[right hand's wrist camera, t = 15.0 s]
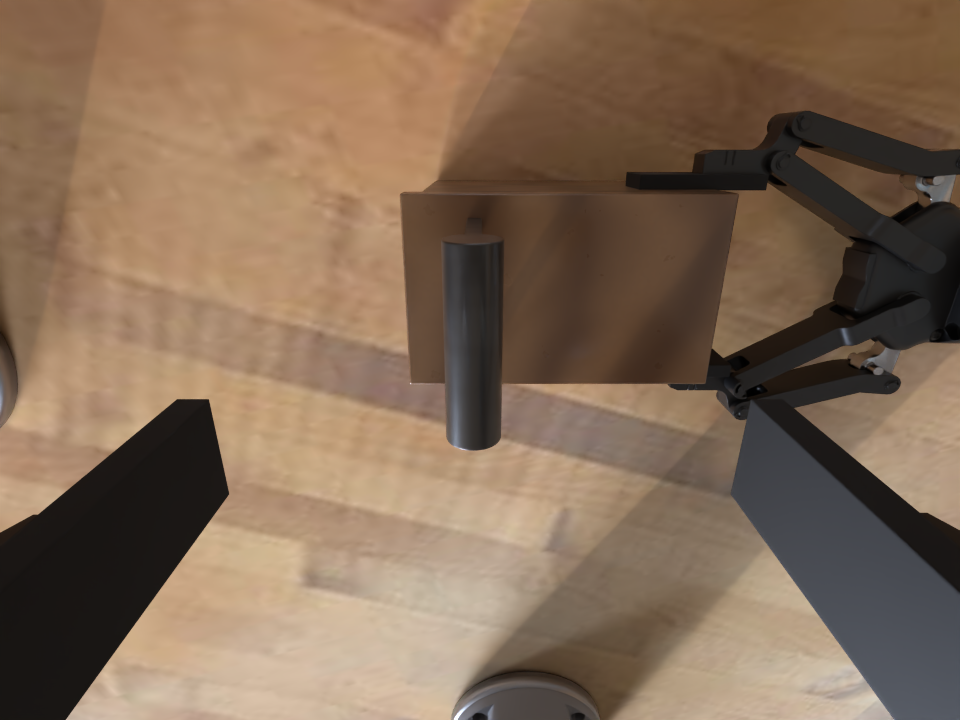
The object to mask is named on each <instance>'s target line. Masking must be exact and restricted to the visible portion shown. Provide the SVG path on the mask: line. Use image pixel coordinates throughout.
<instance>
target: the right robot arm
mask: <svg viewBox="0 0 960 720" xmlns="http://www.w3.org/2000/svg"><path fill="white" fill-rule="evenodd" d="M17 388H18V382H17V373H16V368H15V364H14V360H13V357H12V355H11V352H10V350H9V347H8V345H7V343H6V341H5V339H4V337H3V336H2V334H1V333H0V428H1V427H2V426H3V425H4V423H5V422H6V421H7V419H8V418H9V416H10V415H11V413H12V411H13V408H14V405H15V402H16V397H17ZM228 495H229V491H228V486H227V482H226V477H225V472H224V468H223V463H222V458H221V454H220V449H219V444H218V440H217V435H216V431H215V426H214V421H213V417H212V412H211V407H210V403H209V399H177V400H176V401H175V402H173V403H172V404H171V405H170V406H169V407H167V408H166V409H165V410H164V411H163V412H161V413H160V414H159V415H158V416H156V417H155V418H154V419H153V420H152V421H150V422H149V423H148V424H147V425H146V426H144V427H143V428H142V429H141V430H140V431H138V432H137V433H136V434H135V435H134V436H132V437H131V438H130V439H129V440H128V441H126V442H125V443H124V444H123V445H122V446H120V447H119V448H118V449H117V450H115V451H114V452H113V453H112V454H111V455H109V456H108V457H107V458H106V459H105V460H103V461H102V462H101V463H100V464H99V465H97V466H96V467H95V468H94V469H93V470H91V471H90V472H89V473H88V474H87V475H85V476H84V477H83V478H82V479H81V480H79V481H78V482H77V483H76V484H75V485H73V486H72V487H71V488H70V489H68V490H67V491H66V492H65V493H64V494H62V495H61V496H60V497H59V498H58V499H56V500H55V501H54V502H53V503H52V504H50V505H49V506H48V507H47V508H46V509H44V510H43V511H42V512H41V513H40V514H38V515H32V516H30V517H28V518H26V519H25V520H23V521H21V522H19V523H17V524H15V525H14V526H12V527H10V528H8V529H6V530H4V531H3V532H1V533H0V720H66V719H67V717H68V716H69V714H70V713H71V712H72V710H73V709H74V707H75V706H76V705H77V703H78V702H79V701H80V699H81V698H82V696H83V695H84V694H85V692H86V691H87V690H88V688H89V687H90V685H91V684H92V683H93V681H94V680H95V679H96V677H97V676H98V674H99V673H100V672H101V670H102V669H103V667H104V666H105V665H106V663H107V662H108V661H109V659H110V658H111V656H112V655H113V654H114V652H115V651H116V650H117V648H118V647H119V645H120V644H121V643H122V641H123V640H124V639H125V637H126V636H127V634H128V633H129V632H130V630H131V629H132V627H133V626H134V625H135V623H136V622H137V621H138V619H139V618H140V616H141V615H142V614H143V612H144V611H145V610H146V608H147V607H148V605H149V604H150V603H151V601H152V600H153V599H154V597H155V596H156V594H157V593H158V592H159V590H160V589H161V587H162V586H163V585H164V583H165V582H166V581H167V579H168V578H169V576H170V575H171V574H172V572H173V571H174V570H175V568H176V567H177V565H178V564H179V563H180V561H181V560H182V559H183V557H184V556H185V554H186V553H187V552H188V550H189V549H190V547H191V546H192V545H193V543H194V542H195V541H196V539H197V538H198V536H199V535H200V534H201V532H202V531H203V530H204V528H205V527H206V525H207V524H208V523H209V521H210V520H211V519H212V517H213V516H214V514H215V513H216V512H217V510H218V509H219V507H220V506H221V505H222V503H223V502H224V501H225V499H226V498H227V496H228ZM731 495H732V496H733V498H734V499H735V501H736V502H737V503H738V505H739V506H740V507H741V509H742V510H743V512H744V513H745V514H746V516H747V517H748V519H749V520H750V521H751V523H752V524H753V525H754V527H755V528H756V530H757V531H758V532H759V534H760V535H761V536H762V538H763V539H764V541H765V542H766V543H767V545H768V546H769V547H770V549H771V550H772V552H773V553H774V554H775V556H776V557H777V559H778V560H779V561H780V563H781V564H782V565H783V567H784V568H785V570H786V571H787V572H788V574H789V575H790V576H791V578H792V579H793V581H794V582H795V583H796V585H797V586H798V587H799V589H800V590H801V592H802V593H803V594H804V596H805V597H806V599H807V600H808V601H809V603H810V604H811V605H812V607H813V608H814V610H815V611H816V612H817V614H818V615H819V616H820V618H821V619H822V621H823V622H824V623H825V625H826V626H827V627H828V629H829V630H830V632H831V633H832V634H833V636H834V637H835V639H836V640H837V641H838V643H839V644H840V645H841V647H842V648H843V650H844V651H845V652H846V654H847V655H848V656H849V658H850V659H851V661H852V662H853V663H854V665H855V666H856V667H857V669H858V670H859V672H860V673H861V674H862V676H863V677H864V679H865V680H866V681H867V683H868V684H869V685H870V687H871V688H872V690H873V691H874V692H875V694H876V695H877V696H878V698H879V699H880V701H881V702H882V703H883V705H884V706H885V707H886V709H887V710H888V712H889V713H890V714H891V716H892V717H893V719H894V720H960V530H958V529H956V528H954V527H952V526H951V525H949V524H947V523H945V522H943V521H941V520H939V519H938V518H936V517H934V516H932V515H930V514H928V513H919V512H918V511H917V510H916V509H914V508H913V507H912V506H911V505H910V504H908V503H907V502H906V501H905V500H904V499H902V498H901V497H900V496H899V495H898V494H896V493H895V492H894V491H893V490H892V489H890V488H889V487H888V486H887V485H885V484H884V483H883V482H882V481H881V480H879V479H878V478H877V477H876V476H875V475H873V474H872V473H871V472H870V471H869V470H867V469H866V468H865V467H864V466H863V465H861V464H860V463H859V462H858V461H857V460H855V459H854V458H853V457H852V456H851V455H849V454H848V453H847V452H846V451H845V450H843V449H842V448H841V447H840V446H838V445H837V444H836V443H835V442H834V441H832V440H831V439H830V438H829V437H828V436H826V435H825V434H824V433H823V432H822V431H820V430H819V429H818V428H817V427H816V426H814V425H813V424H812V423H811V422H810V421H808V420H807V419H806V418H805V417H804V416H802V415H801V414H800V413H799V412H797V411H796V410H795V409H794V408H793V407H791V406H790V405H789V404H788V403H787V402H785V401H784V400H783V399H751V403H750V407H749V412H748V417H747V421H746V426H745V431H744V435H743V440H742V444H741V449H740V454H739V458H738V463H737V468H736V472H735V477H734V482H733V486H732V491H731Z"/></svg>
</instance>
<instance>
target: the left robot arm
mask: <svg viewBox="0 0 960 720" xmlns="http://www.w3.org/2000/svg"><path fill="white" fill-rule="evenodd" d="M767 132H768V133H767V135H766V137H765V139H764V140H763V142H762V143H761V144H760V145H759V146H758V147H756V148H754V149H752V150H703V151H701V152H698V153H696V154H695V157H694V164H693V171H692V172H627V176H626V186H627V187H631V188H635V189H639V190H766V187H767V182H768V183H769V184H771V185H772V186H774V187H775V188H777V189H778V190H780V191H781V192H783V193H784V194H786V195H787V196H789V197H790V198H792V199H793V200H795V201H796V202H798V203H799V204H800V205H802V206H803V207H805V208H806V209H808V210H809V211H811V212H812V213H814V214H815V215H817V216H818V217H820V218H821V219H823V220H824V221H826V222H827V223H829V224H830V225H832V226H833V227H834V229H835V230H836V231H837V232H839V233H840V234H842V235H843V236H845V237H846V238H848V239H849V240H851V241H852V242H854V243H853V245H852V246H851V247H846V250H845V254H844V258H843V274H842V276H841V278H840V280H839V282H838V284H837V286H836V288H835V292H834V296H833V300H835V301H833V302H831V303H829V304H826V305H824V306H822V307H820V308H818V309H816V310H815V311H814V312H813V315H812V316H811V317H809V318H807V319H805V320H803V321H801V322H799V323H796V324H794V325H792V326H790V327H788V328H786V329H784V330H782V331H780V332H778V333H775V334H773V335H771V336H769V337H767V338H765V339H763V340H761V341H759V342H757V343H754V344H752V345H750V346H748V347H746V348H744V349H742V350H740V351H738V352H736V353H733V354H731V355H729V356H727V357H725V358H722V357H721V356H720V355H719V354H718V353H717V352H715V351H714V350H713V349H711V354H710V360H709V366H708V371H707V377H706V383H705V384H668V385H669V386H670V387H671V388H674V389H676V390H718V392H717V395H716V397H717V399H718V400H719V401H720V402H721V404H722V405H723V406H724V407H725V408H726V409H727V410H728V411H729V412H730V413H731V414H732V415H733V416H734V417H735V418H736V419H738V420H745V419H747V417H748V412H749V407H750V403H751V399H783V400H784V401H785V402H787V403H788V404H789V405H790V406H791V407H793V408H796V407H800V406H804V405H808V404H812V403H817V402H821V401H825V400H829V399H834V398H838V397H842V396H846V395H851V394H855V393H859V392H861V393H875V394H892V393H894V392H895V391H897V390H898V389H899V387H900V384H901V381H900V379H899V378H898V377H897V376H895V375H893V374H892V371H893V368H894V366H895V364H896V361H897V359H898V356H899V354H900V351H901V350H906V349H909V348H911V347H913V346H915V345H918V344H921V343H926V342H933V343H960V208H958V207H957V206H956V205H954V204H952V203H950V198H951V194H952V190H953V186H954V182H955V178H956V175H959V174H960V149H923V148H920V147H917V146H914V145H911V144H908V143H905V142H902V141H899V140H895V139H892V138H889V137H886V136H883V135H880V134H877V133H874V132H871V131H868V130H865V129H862V128H859V127H856V126H853V125H850V124H847V123H844V122H841V121H838V120H835V119H832V118H829V117H826V116H823V115H820V114H817V113H814V112H811V111H799V112H791V113H782V114H777V115H775V116H773V117H772V118H771V119H770V121H769V122H768V126H767ZM799 146H800V147H803V148H806V149H809V150H813V151H816V152H819V153H822V154H825V155H828V156H831V157H834V158H837V159H840V160H843V161H847V162H850V163H853V164H856V165H859V166H862V167H865V168H868V169H871V170H874V171H877V172H882V173H886V174H897V175H900V177H899V181H900V182H901V183H903V185H904V187H905V188H906V189H908V190H913V191H915V192H916V193H917V195H918V201H917V202H915V203H913V204H911V205H909V206H908V207H906V208H904V209H903V210H901V211H900V212H898V213H896V214H895V215H893V216H891V217H887V216H885V215H882V214H880V213H878V212H877V211H876V210H874V209H873V208H871V207H870V206H868V205H867V204H865V203H864V202H863V201H861V200H860V199H858V198H857V197H855V196H854V195H852V194H851V193H850V192H848V191H847V190H845V189H844V188H842V187H841V186H839V185H838V184H837V183H835V182H834V181H832V180H831V179H829V178H828V177H826V176H825V175H824V174H822V173H821V172H819V171H818V170H816V169H815V168H813V167H812V166H811V165H809V164H808V163H806V162H805V161H803V160H802V159H800V158H799V157H798V156H796V155H795V153H796V151H797V150H798V148H799ZM869 339H872V340H873V341H874V342H875V343H874V345H873V347H872V348H871V349H869V350H868V351H866V352H860V353H851V354H849V356H848V359H839V360H831V361H826V362H822V363H817V364H813V365H809V366H805V367H801V368H797V369H793V368H795V367H798V366H800V365H802V364H804V363H806V362H808V361H811V360H813V359H815V358H817V357H819V356H821V355H824V354H826V353H828V352H830V351H832V350H834V349H837V348H839V347H841V346H845V345H849V346H852V345H857V344H860V343H862V342H864V341H866V340H869ZM791 369H793V370H791ZM451 720H600V717H599V712H598V709H597V706H596V704H595V702H594V700H593V699H592V698H591V696H590V695H589V694H588V693H587V692H586V691H585V690H584V689H583V688H581V687H580V686H578V685H577V684H575V683H573V682H572V681H570V680H567V679H565V678H562V677H559V676H556V675H552V674H547V673H541V672H515V673H508V674H503V675H499V676H496V677H493V678H490V679H488V680H485V681H483V682H481V683H479V684H477V685H476V686H474V687H473V688H471V689H470V690H469V691H467V692H466V693H465V694H464V695H463V696H462V697H461V699H460V700H459V701H458V703H457V704H456V706H455V708H454V710H453V713H452V717H451Z"/></svg>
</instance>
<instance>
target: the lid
mask: <svg viewBox="0 0 960 720" xmlns="http://www.w3.org/2000/svg"><path fill="white" fill-rule="evenodd" d="M738 196H739V195H738V194H737V193H731V192H403V193H401V194H400V207H401V225H402V243H403V261H404V280H405V298H406V316H407V334H408V353H409V371H410V383H411V384H445V401H446V437H447V440H448V442H449V443H450V444H451V445H453V446H455V447H457V448H459V449H463V450H473V451H474V450H483V449H487V448H490V447H492V446H494V445H496V444H497V443H498V442H499V440H500V438H501V403H502V384H705V383H706V377H707V371H708V366H709V360H710V354H711V349H712V343H713V337H714V332H715V326H716V320H717V315H718V309H719V303H720V298H721V292H722V287H723V281H724V275H725V270H726V264H727V258H728V253H729V247H730V241H731V236H732V230H733V224H734V219H735V213H736V208H737V202H738Z"/></svg>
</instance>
